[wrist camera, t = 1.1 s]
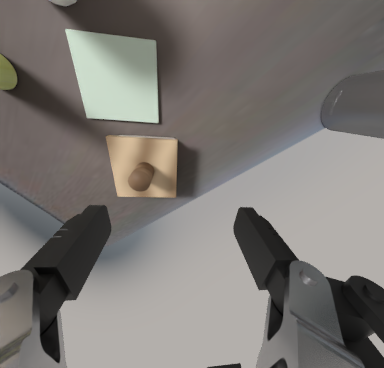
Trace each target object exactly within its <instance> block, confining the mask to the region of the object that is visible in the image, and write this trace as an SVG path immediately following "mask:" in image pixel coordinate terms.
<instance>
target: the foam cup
mask: <svg viewBox="0 0 384 368" xmlns="http://www.w3.org/2000/svg"><path fill="white" fill-rule="evenodd" d="M48 1H50V2H53V3H54V4H57V5H61V6H66V7H67V6H69V5H71V4H73V3H76V1H77V0H48Z"/></svg>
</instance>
